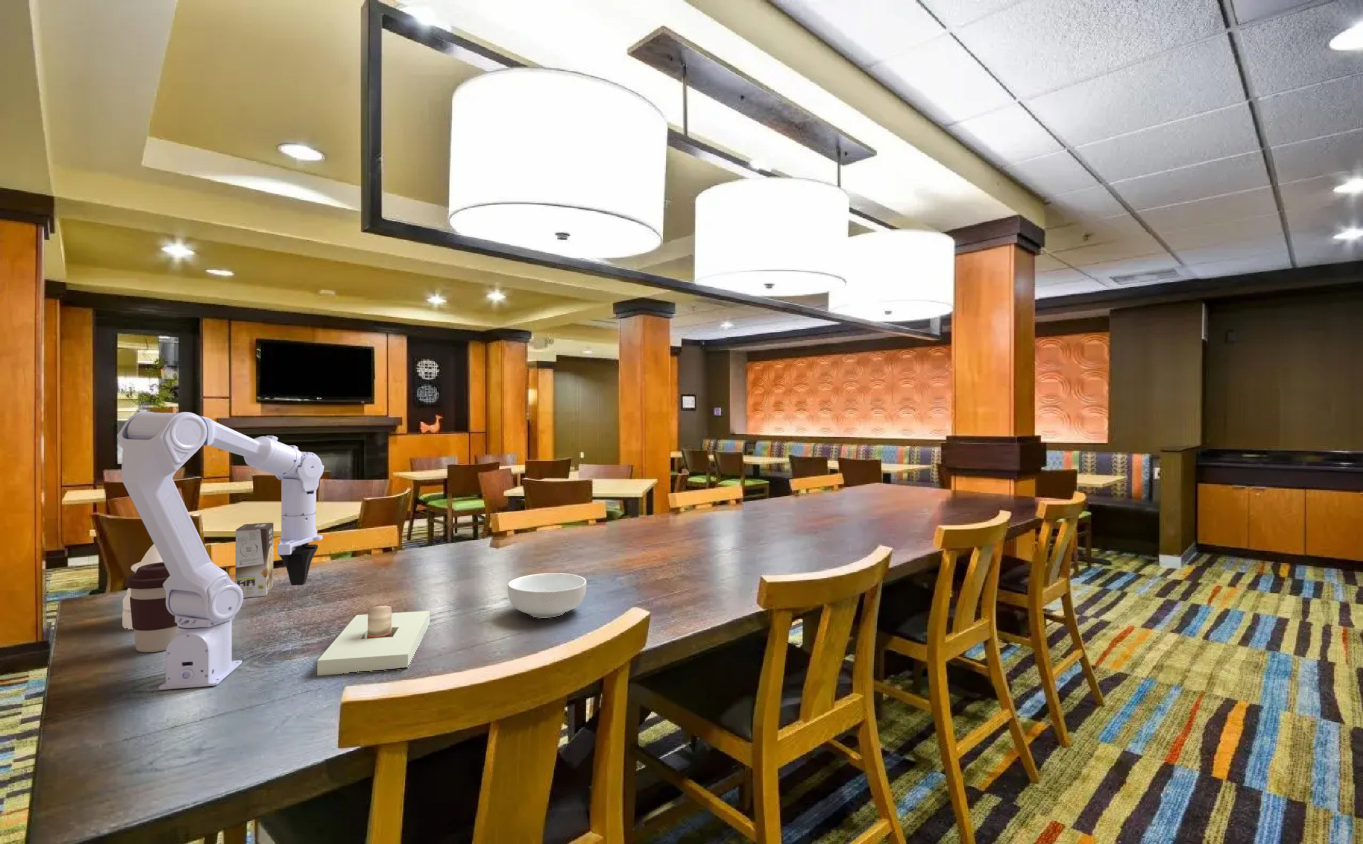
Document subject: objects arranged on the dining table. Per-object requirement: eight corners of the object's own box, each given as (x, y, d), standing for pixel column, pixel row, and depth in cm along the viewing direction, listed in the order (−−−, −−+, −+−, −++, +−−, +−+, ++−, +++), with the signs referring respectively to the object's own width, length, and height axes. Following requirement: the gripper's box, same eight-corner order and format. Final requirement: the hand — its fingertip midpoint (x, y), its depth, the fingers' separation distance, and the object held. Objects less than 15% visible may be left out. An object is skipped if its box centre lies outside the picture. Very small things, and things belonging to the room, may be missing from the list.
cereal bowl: (598, 605, 144) (598, 575, 144) (565, 629, 128) (566, 595, 128) (531, 599, 149) (531, 569, 149) (492, 621, 133) (492, 587, 133)
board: (407, 668, 108) (407, 654, 107) (317, 675, 104) (317, 660, 104) (429, 622, 131) (429, 610, 131) (356, 627, 128) (356, 615, 128)
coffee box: (267, 596, 148) (267, 528, 148) (234, 599, 145) (234, 530, 145) (273, 586, 156) (274, 521, 156) (242, 589, 154) (243, 523, 153)
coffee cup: (140, 640, 119) (140, 561, 119) (203, 634, 123) (203, 557, 122) (114, 659, 110) (115, 573, 110) (183, 652, 113) (184, 569, 113)
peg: (388, 649, 116) (388, 612, 116) (364, 651, 115) (364, 613, 115) (393, 641, 120) (394, 605, 120) (371, 643, 119) (371, 606, 119)
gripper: (308, 519, 115) (307, 593, 115) (333, 507, 129) (333, 573, 129) (265, 520, 113) (264, 595, 113) (295, 508, 127) (295, 575, 127)
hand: (298, 584), depth 121 cm, fingers closed
